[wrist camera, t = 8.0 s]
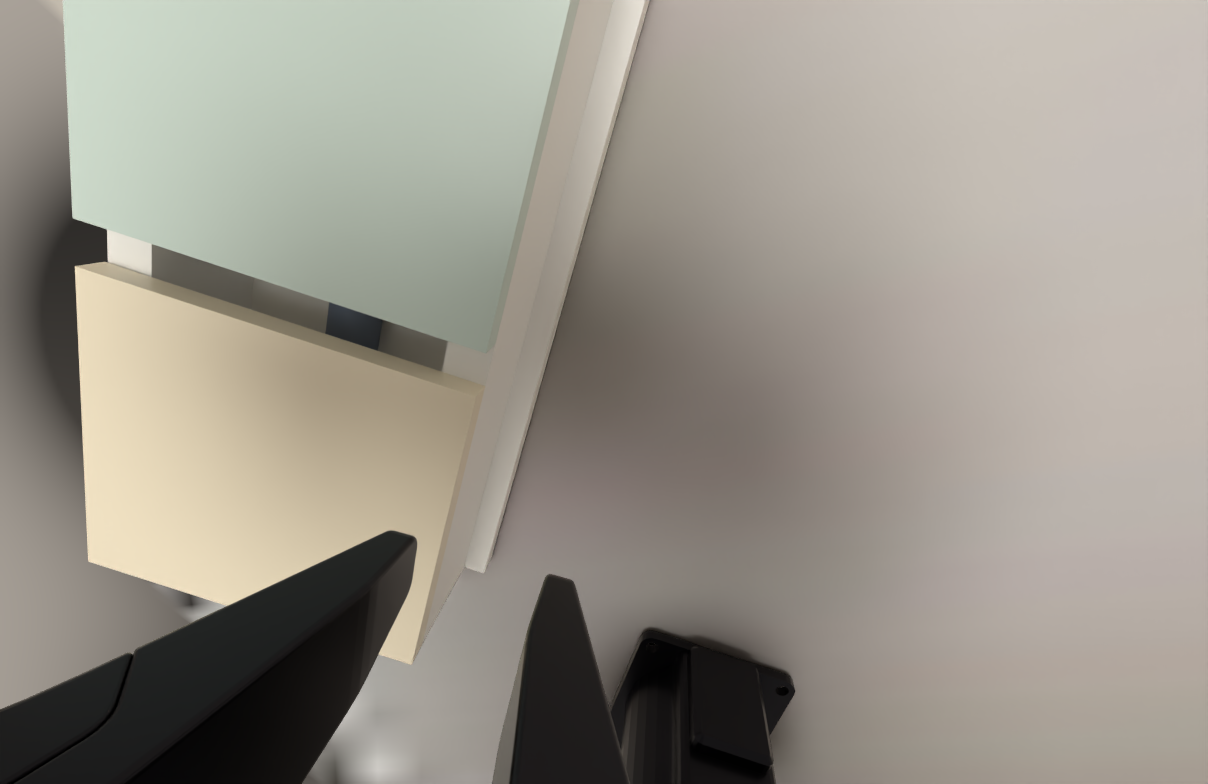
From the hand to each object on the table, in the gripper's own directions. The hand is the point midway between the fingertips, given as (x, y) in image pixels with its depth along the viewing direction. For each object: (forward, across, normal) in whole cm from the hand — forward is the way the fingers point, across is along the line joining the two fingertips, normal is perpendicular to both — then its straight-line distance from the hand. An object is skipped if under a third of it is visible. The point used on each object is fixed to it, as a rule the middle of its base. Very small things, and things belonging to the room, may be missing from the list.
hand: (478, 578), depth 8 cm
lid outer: (+7, +7, -6) cm, 12 cm away
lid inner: (+7, +8, +5) cm, 11 cm away
